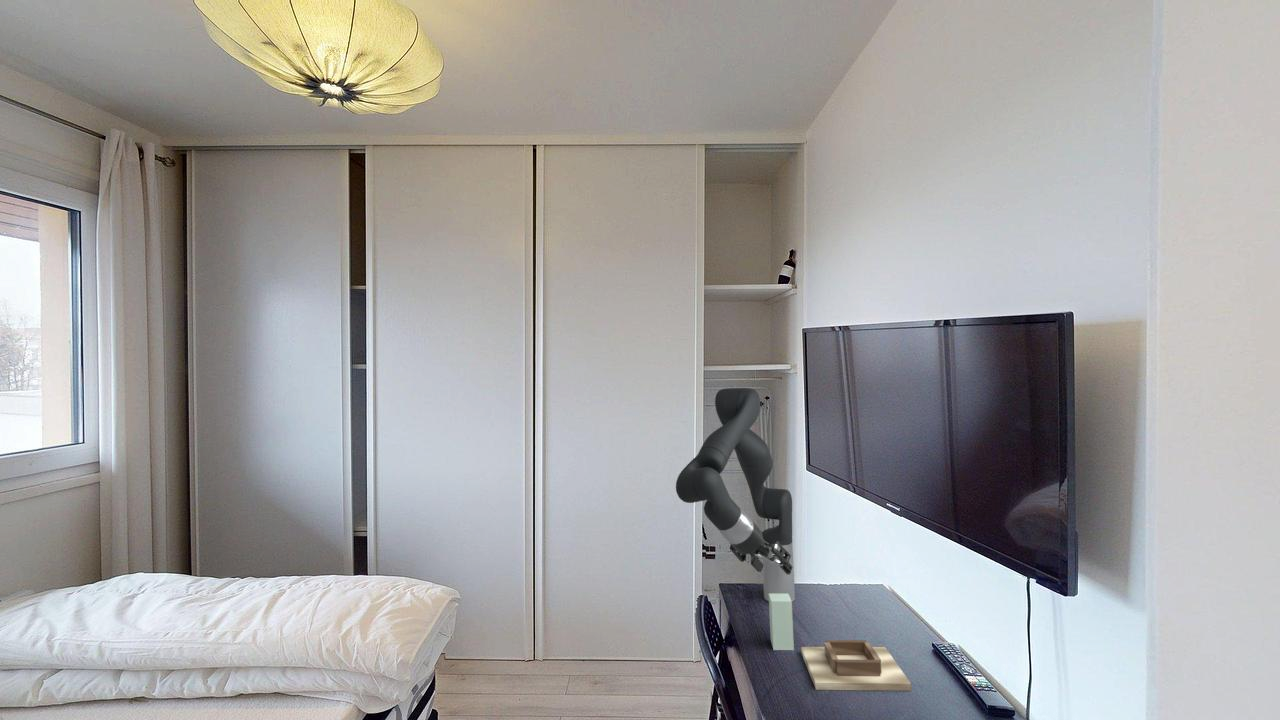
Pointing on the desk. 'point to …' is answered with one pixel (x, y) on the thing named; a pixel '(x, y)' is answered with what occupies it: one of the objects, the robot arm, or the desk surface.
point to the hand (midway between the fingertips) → (775, 569)
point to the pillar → (781, 622)
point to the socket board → (853, 667)
